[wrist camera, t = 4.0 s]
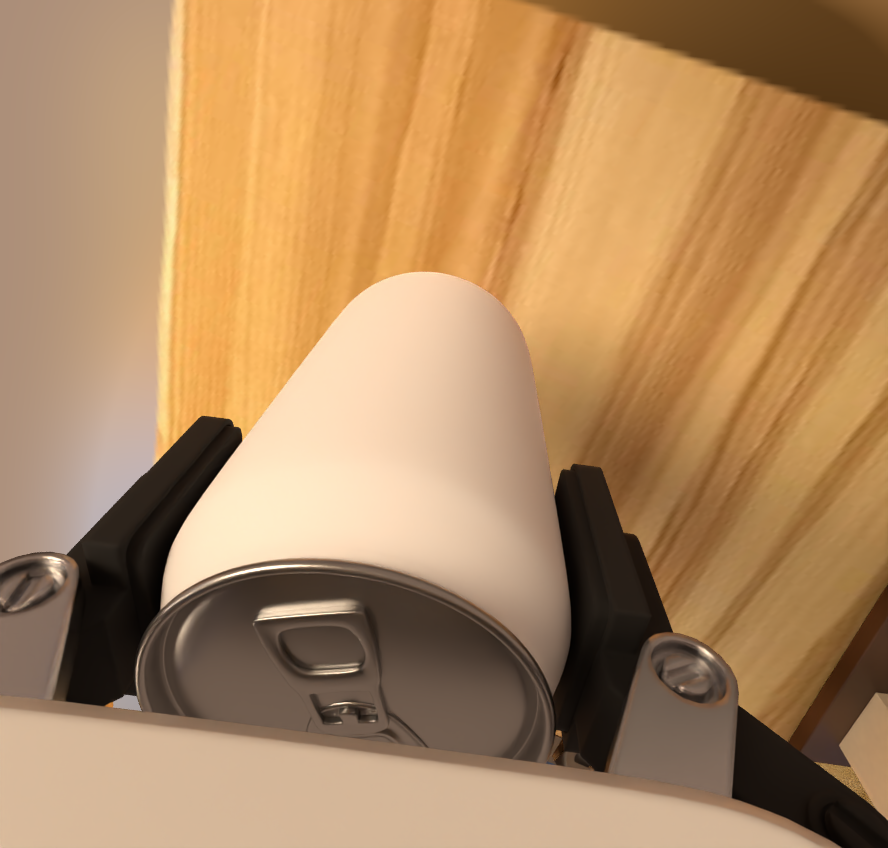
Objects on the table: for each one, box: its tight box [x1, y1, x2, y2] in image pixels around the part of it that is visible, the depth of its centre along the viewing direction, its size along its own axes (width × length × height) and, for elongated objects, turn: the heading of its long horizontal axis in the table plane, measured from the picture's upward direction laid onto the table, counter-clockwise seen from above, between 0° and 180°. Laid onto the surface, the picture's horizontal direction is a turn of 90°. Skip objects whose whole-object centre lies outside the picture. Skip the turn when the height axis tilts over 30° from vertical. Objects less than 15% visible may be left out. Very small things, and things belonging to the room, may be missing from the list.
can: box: [134, 272, 571, 764], centre depth 13 cm, size 6×6×12 cm
